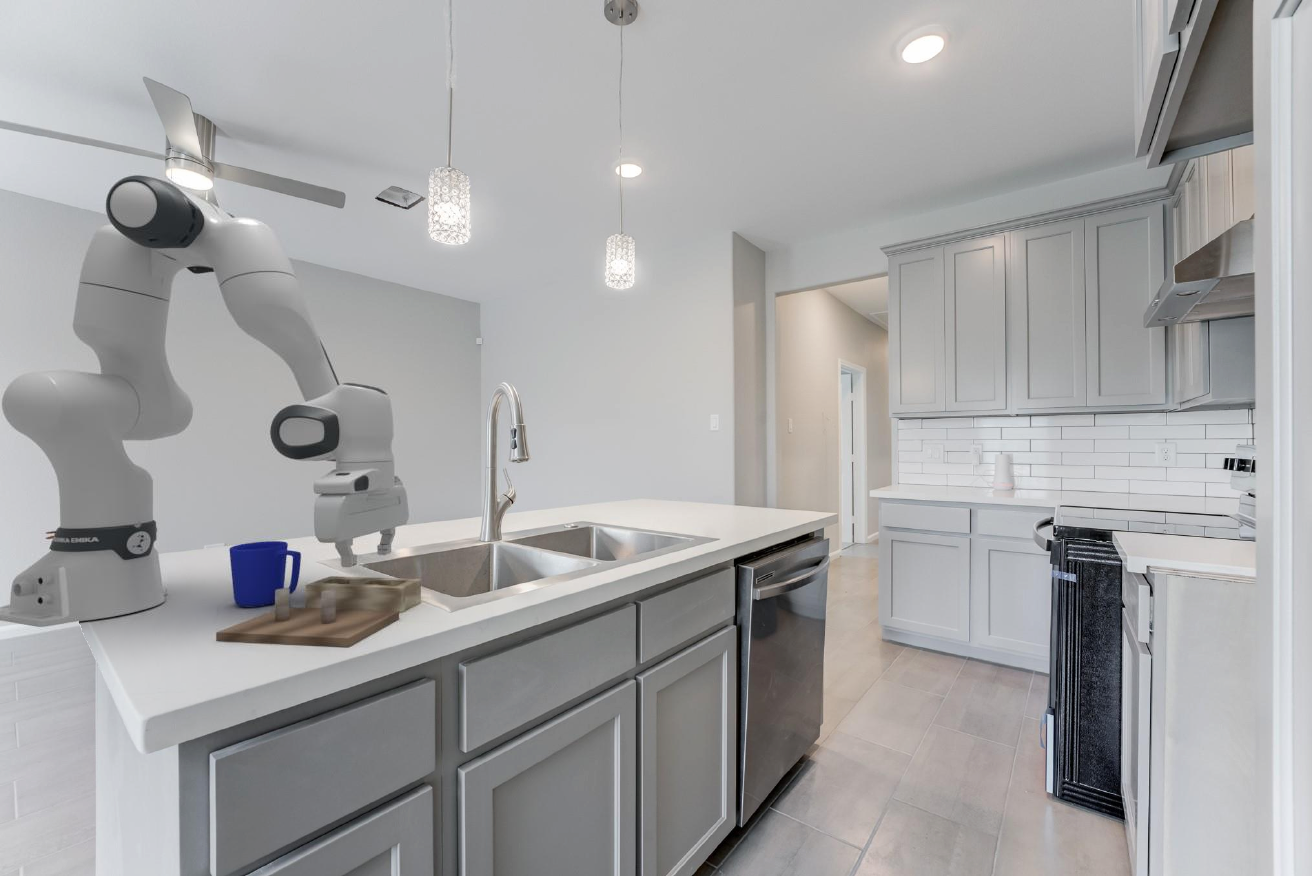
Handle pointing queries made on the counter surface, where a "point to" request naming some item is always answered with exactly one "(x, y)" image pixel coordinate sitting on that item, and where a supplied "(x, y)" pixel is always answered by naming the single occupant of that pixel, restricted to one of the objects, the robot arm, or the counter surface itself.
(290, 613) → the board
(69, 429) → the robot arm
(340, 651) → the counter surface
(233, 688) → the counter surface
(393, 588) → the two-compartment stone tray
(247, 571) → the mug
